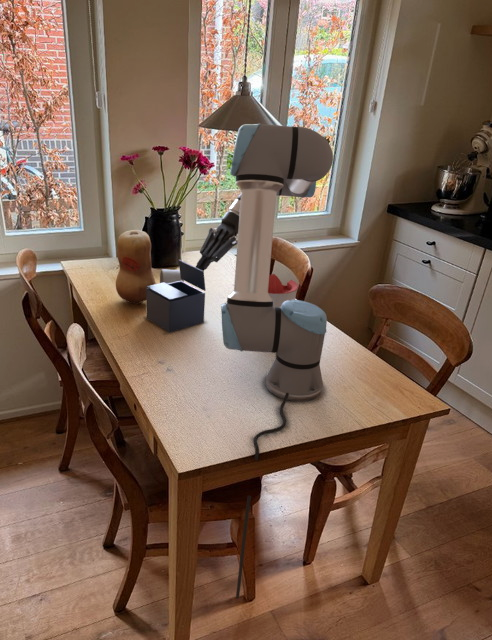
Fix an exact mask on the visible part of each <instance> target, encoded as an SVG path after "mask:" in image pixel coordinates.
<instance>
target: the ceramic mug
mask: <svg viewBox="0 0 492 640" xmlns="http://www.w3.org/2000/svg"><path fill="white" fill-rule="evenodd" d="M159 271H160V272H159V283H163V282H164V283H166V284H169V283H173V282H177V281H183V282H185V281H184V280H182V279H181V276H180V269H167V268H165V269H164V268H161V269H160V270H159Z"/></svg>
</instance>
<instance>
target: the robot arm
mask: <svg viewBox="0 0 492 640" xmlns="http://www.w3.org/2000/svg"><path fill="white" fill-rule="evenodd" d="M326 139H327V138H325V137H324V136H323V135H322V134H320V133H319V132H317V131H316V130H313V129H311V128H309V127H304V126H290V125H278V124H268V123H245V124H242V125H241V126H240V127H239V128H238V130H237V133H236V139H235V144H234V149H233V154H232V160H231V166H230V176H232V177H235V185H236V186H237V188H238V189H239V190H240V194H239V195H238V196H237V198H236V199H235V200H234V201H233V203H232V204H231V205H230V207H229V208H228V210H227V211H226V212H225V213H224V215H223V216H222V217H221V223H219V225H218V226H217V227H216V228H212V227H210V228H209V230H208V234H207V236H206V238H205V240H204V241H203V244H202V246H201V248H200V249H199V253H200V255H201V257H200V258H199V260H198V261H197V262H196V265H195V267H196V268H198V269H200V270H202V271H204V272H205V270H207V269H208V268H209V266H210V265H211V264H212V263H213V262H215V263H218V262H219V261H220V260H222V258H223V257H224V256H225V255H226V254H227V253H228V252H229V251H230V250H231V249H232V248H233V247H235V246H236V257H235V258H236V259H235V270H234V272H235V274H234V285H233V291H232V292H231V293H230V294H229V295H227V297H226V298H227V299H226V302H223V303H222V304H221V305H220V312H221V313H220V314H221V331H222V332H221V333H222V342H223V343H222V344H223V345H224V346H225V348H226V349H228V350H232V351H233V350H234V351H240V352H258V353H272V354H273V353H274V354H275V359H274V360H273V362H272V364H271V366H270V368H269V369H268V372H267V374H266V376H265V387H266V389H267V391H269V393H271V394H273V395H274V396H276V397H278V398H280V399H282V402H281V404H280V406H279V414H280V417H281V419H282V424H281V425H280V426H278V427H274V428H270V429H265V430H262V431H260V432H258V433H257V434H256V435H254V437H253V439H252V440H253V441H252V442H253V446H254V461H256V462H257V461H259V457H260V448H259V444H258V439H259V438H260V437H262V436H263V435H266V434H272V433H277V432H279V431H281V430H283V429H284V428H285V427H286V425H287V418H286V415H285V413H284V407H285V404H286V403H287V401H290V402H291V401H292V402H309V401H312V400H315V399H317V398H318V397H320V396H321V395H322V393H323V388H324V381H323V380H324V379H323V375H322V370H321V359H322V353H323V348H324V347H323V346H324V343H325V342H324V341H325V337H326V333H327V323H328V318H327V314H326V312H325V311H324V310H323V309H322V308H320V306H317V305H316V304H313V303H311V302H308V301H304V300H301V299H300V300H299V299H295V300H290V301H285V302H284V303H283V304H282V305H281V308H279V307H273V299H272V298H271V296H270V295H269V294H268V285H269V275H270V273H271V272H270V271H271V263H272V262H271V260H272V249H273V248H272V247H273V239H274V238H273V236H274V226H275V214H276V202H277V197H292V198H302V199H304V198H312V197H314V196H315V192H316V189H317V182H318V181H320V180H322V179H323V178H325V177H326V176H327V174H328V173H329V172H330V171H331V169H332V167H333V163H334V152H333V149H332V146H331V145H330V143H329V142H328V141H327V140H326ZM251 500H252V495H247V497H246V505H245V513H244V520H243V530H242V539H241V546H240V547H241V548H240V556H239V565H238V576H237V583H236V584H237V586H236V593H235V599H236V600H238V599H239V598H240V592H241V585H242V584H241V583H242V576H243V567H244V566H243V565H244V557H245V549H246V540H247V532H248V531H247V530H248V524H249V515H250V507H251Z"/></svg>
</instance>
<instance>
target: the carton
mask: <svg viewBox="0 0 492 640" xmlns="http://www.w3.org/2000/svg"><path fill="white" fill-rule="evenodd" d="M145 302H146V305H145V306H146V320H148V321H149V322H152V323H153V324H155V325H156V326H158V327H160V328H161V329H163V330H164V331H166V332H168V333H170V334H171V333H173V332H176V331H180V330H183V329H186V328H190V327H194V326H196V325H197V326H198V325H200V324H204V323H205V306H206V305H205V303H206V292H205V291H203V290H202V289H200V288H198V287H196V286H194V285H192V284H190V283H188V282H186V281H184V282H183V281H177V282H173V283H169V284H166V283H164V282H163V283H160V282H159V283H155V284H154V285H150V286H147V289H146V300H145Z"/></svg>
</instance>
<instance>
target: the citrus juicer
mask: <svg viewBox="0 0 492 640" xmlns="http://www.w3.org/2000/svg"><path fill="white" fill-rule="evenodd" d="M298 287H299V286H298V284H297V282H296V281H294V280H293V279H290V280H288V281H287V283H286V285H285V284H283V283H282V281H281V279H280V278H279V277H278V276H277V275H276V274H275V273H272V274H269V285H268V294H269V295H270V296H271V298H272V299H273V307H279V308H281V305H282V304H283V303H284V302H285V301H290V300H296V296H297V291H298Z"/></svg>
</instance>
